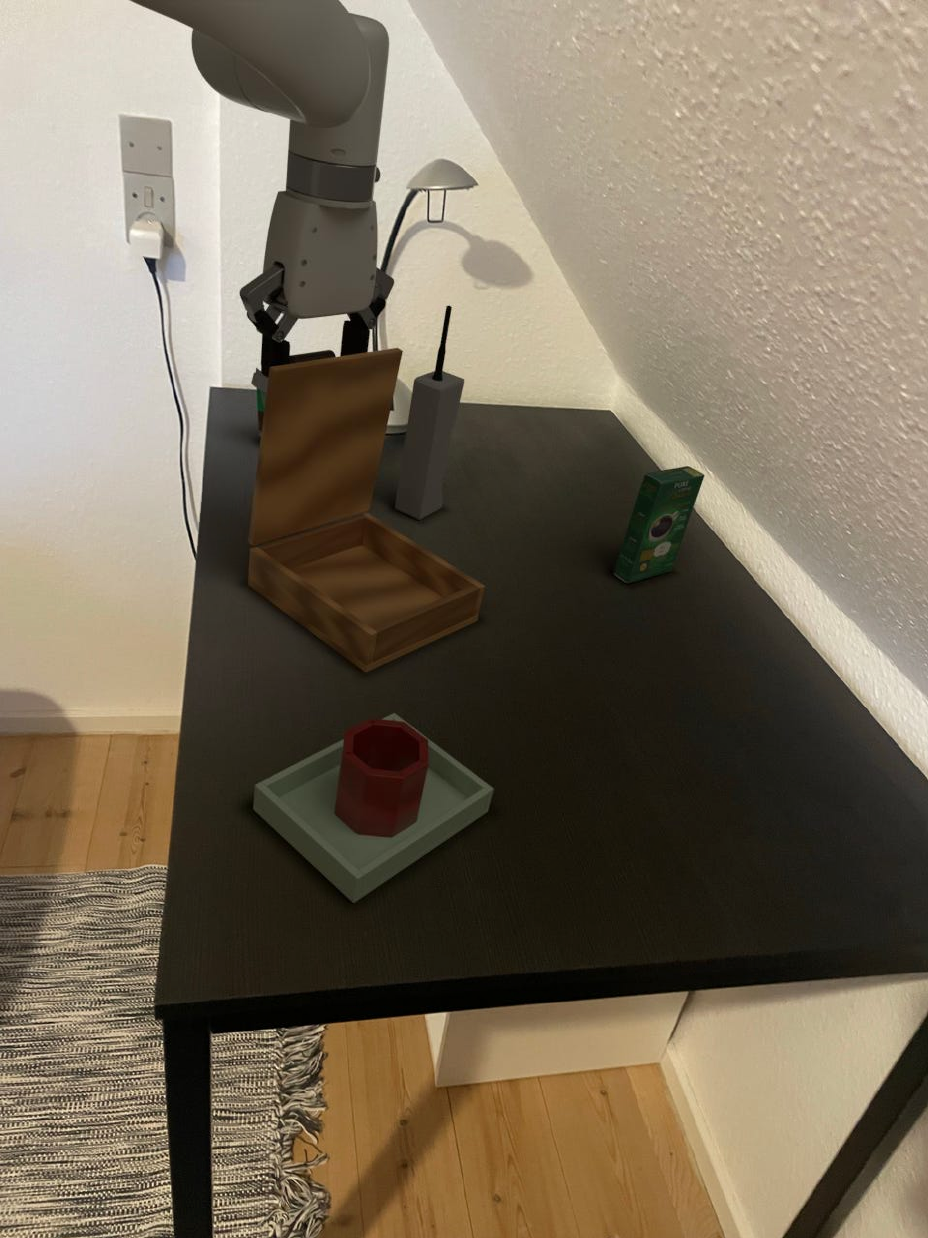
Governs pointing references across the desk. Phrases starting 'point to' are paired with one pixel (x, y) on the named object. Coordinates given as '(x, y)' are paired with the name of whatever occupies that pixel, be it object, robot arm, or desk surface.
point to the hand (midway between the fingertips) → (314, 371)
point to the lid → (321, 439)
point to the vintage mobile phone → (428, 436)
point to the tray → (365, 862)
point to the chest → (365, 589)
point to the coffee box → (658, 523)
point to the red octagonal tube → (381, 777)
